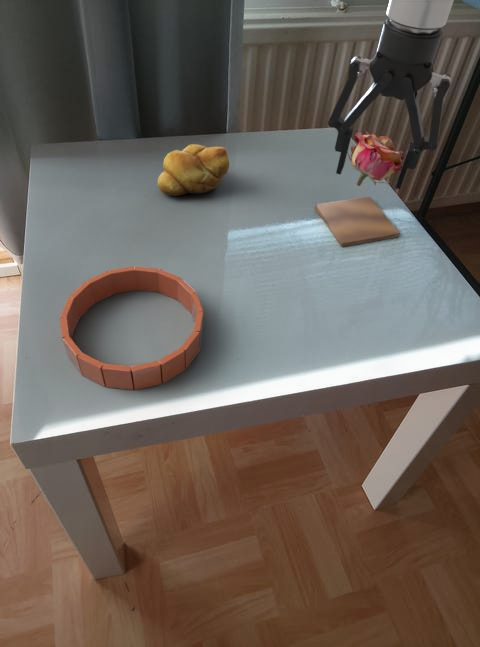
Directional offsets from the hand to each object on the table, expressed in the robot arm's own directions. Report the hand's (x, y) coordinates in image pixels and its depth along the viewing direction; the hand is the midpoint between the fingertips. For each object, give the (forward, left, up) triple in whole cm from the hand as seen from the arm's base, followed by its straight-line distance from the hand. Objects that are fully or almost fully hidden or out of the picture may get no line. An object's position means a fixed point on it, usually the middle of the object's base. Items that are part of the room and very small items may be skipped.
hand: (369, 176), depth 81 cm
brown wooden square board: (0, 0, -9) cm, 9 cm away
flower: (0, 0, 0) cm, 0 cm away
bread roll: (+25, +17, -9) cm, 32 cm away
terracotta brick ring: (+1, +44, -9) cm, 45 cm away
